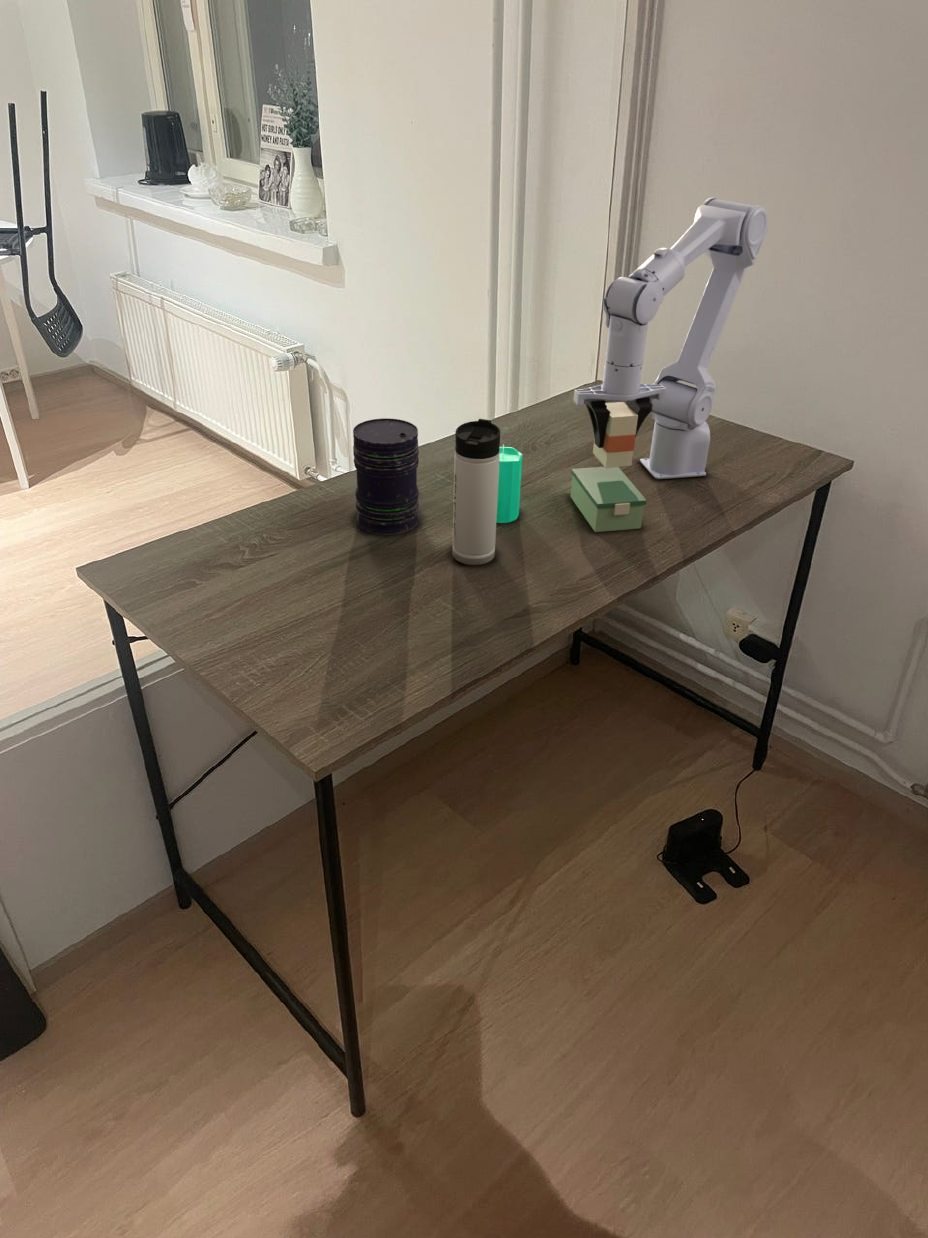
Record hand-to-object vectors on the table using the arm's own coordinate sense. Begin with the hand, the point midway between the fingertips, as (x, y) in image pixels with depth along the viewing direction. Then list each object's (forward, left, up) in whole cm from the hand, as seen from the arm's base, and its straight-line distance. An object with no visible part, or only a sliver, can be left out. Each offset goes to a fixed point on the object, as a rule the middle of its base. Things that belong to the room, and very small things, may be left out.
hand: (613, 444), depth 146 cm
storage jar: (+37, +2, -10) cm, 39 cm away
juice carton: (0, 0, -3) cm, 3 cm away
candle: (+19, +3, -10) cm, 22 cm away
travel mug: (+26, +15, -10) cm, 32 cm away
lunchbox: (+2, +5, -10) cm, 11 cm away
